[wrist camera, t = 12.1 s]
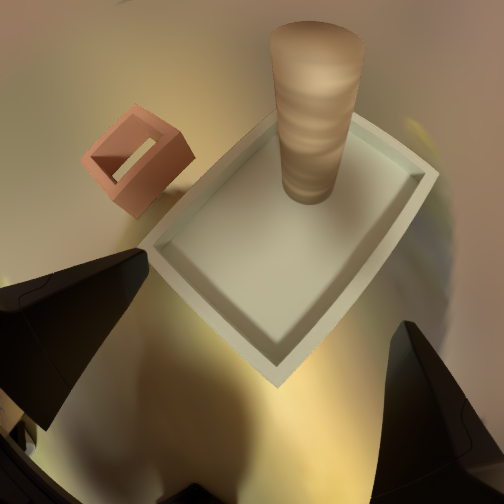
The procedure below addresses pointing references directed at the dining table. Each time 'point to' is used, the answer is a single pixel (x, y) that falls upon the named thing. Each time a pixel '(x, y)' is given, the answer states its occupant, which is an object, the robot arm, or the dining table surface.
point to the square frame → (147, 167)
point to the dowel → (314, 103)
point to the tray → (286, 242)
